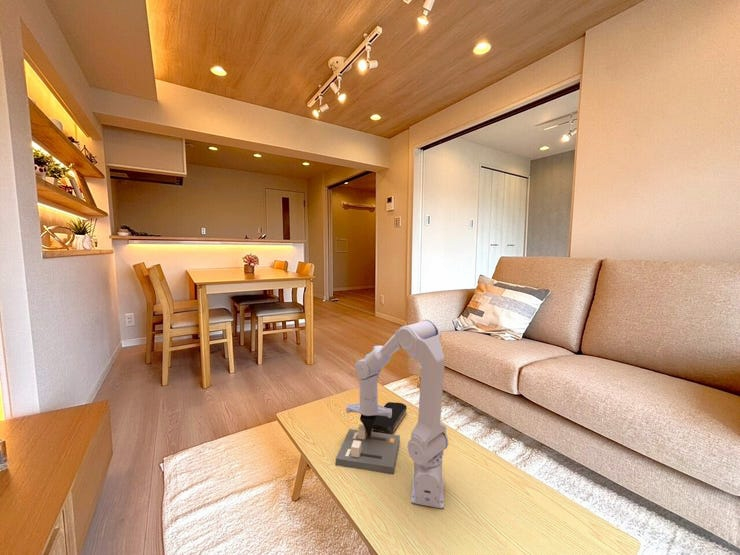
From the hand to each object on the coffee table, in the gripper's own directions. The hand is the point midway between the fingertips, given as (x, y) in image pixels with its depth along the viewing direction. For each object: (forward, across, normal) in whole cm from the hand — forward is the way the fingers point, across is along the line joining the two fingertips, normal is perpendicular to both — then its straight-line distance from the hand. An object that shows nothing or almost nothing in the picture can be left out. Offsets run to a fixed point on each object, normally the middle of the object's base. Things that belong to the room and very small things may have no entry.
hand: (369, 434), depth 95 cm
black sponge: (+3, -4, -13) cm, 14 cm away
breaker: (+1, +2, +8) cm, 8 cm away
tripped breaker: (+1, +2, 0) cm, 2 cm away
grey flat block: (+3, -1, +4) cm, 5 cm away
